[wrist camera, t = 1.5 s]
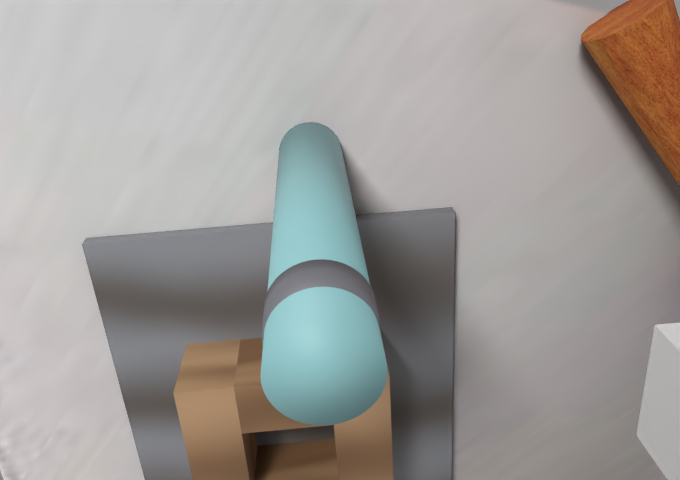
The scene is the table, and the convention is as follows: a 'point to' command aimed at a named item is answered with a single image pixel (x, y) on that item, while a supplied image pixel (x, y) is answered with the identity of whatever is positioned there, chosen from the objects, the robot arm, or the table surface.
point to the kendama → (644, 69)
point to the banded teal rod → (318, 290)
